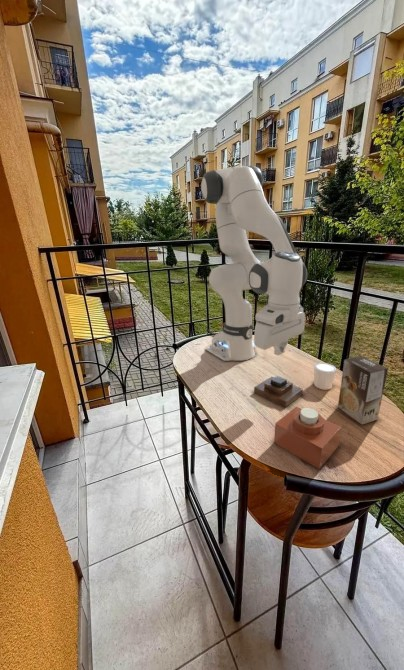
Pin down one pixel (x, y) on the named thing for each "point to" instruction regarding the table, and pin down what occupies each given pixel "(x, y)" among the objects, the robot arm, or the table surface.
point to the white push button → (308, 416)
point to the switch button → (278, 381)
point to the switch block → (278, 392)
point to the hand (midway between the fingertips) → (279, 353)
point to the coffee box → (362, 389)
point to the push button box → (307, 437)
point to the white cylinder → (324, 375)
